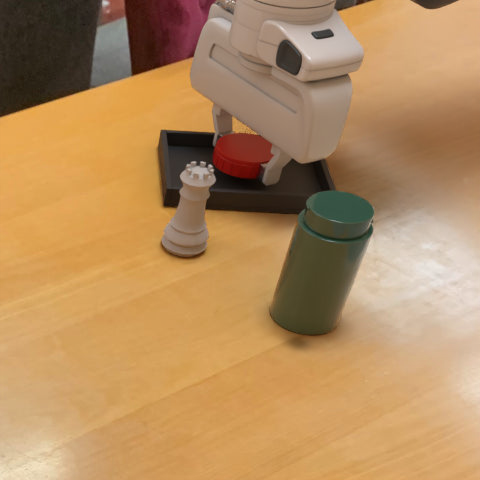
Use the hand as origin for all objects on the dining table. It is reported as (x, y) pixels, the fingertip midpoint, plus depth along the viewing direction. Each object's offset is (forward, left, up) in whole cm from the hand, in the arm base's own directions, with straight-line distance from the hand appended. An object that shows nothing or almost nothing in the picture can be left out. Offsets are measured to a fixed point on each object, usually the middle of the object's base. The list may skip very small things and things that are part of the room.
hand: (244, 164), depth 95 cm
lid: (0, 0, +2) cm, 2 cm away
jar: (-3, +24, -2) cm, 25 cm away
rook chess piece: (+7, +14, -2) cm, 16 cm away
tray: (0, 0, -2) cm, 2 cm away
